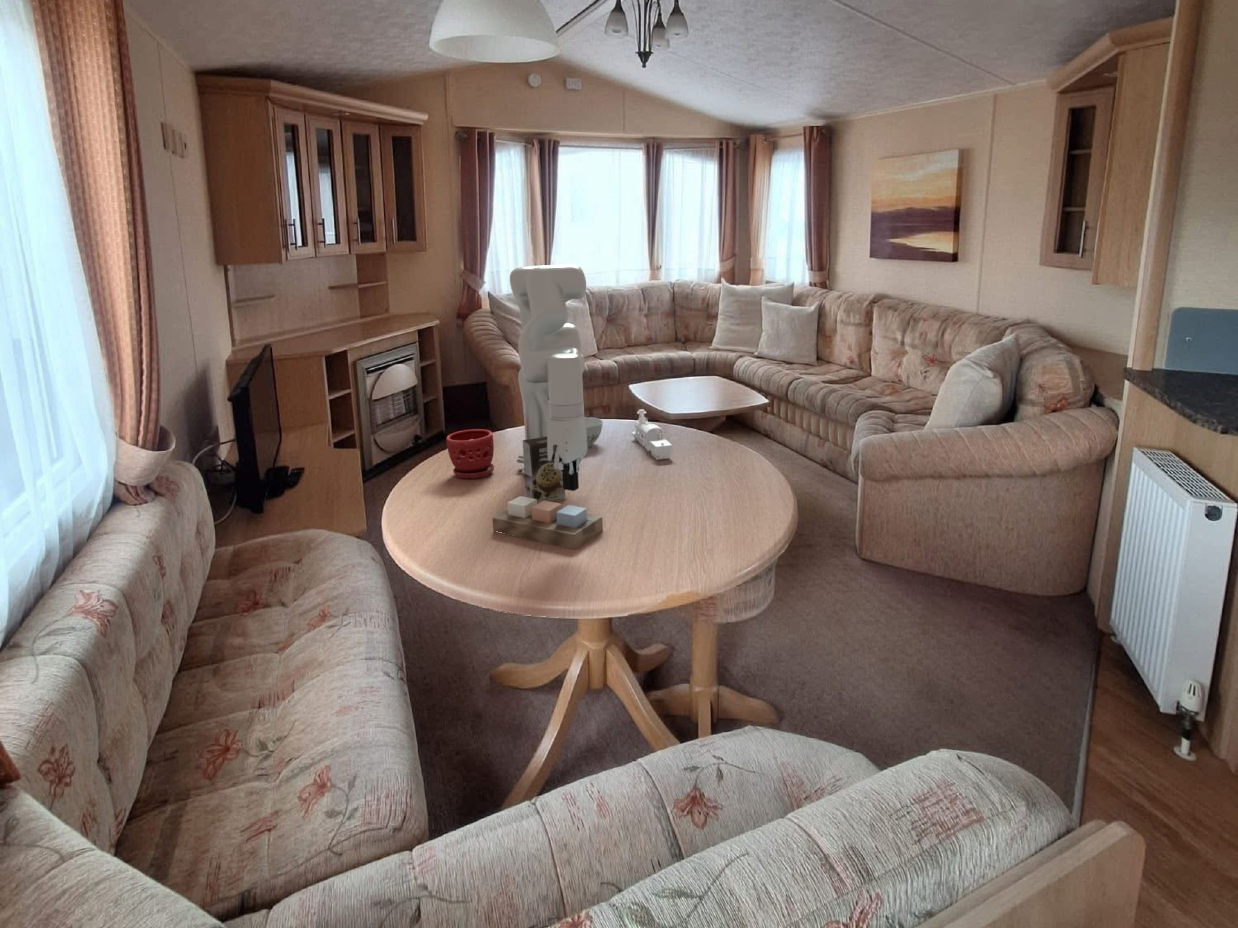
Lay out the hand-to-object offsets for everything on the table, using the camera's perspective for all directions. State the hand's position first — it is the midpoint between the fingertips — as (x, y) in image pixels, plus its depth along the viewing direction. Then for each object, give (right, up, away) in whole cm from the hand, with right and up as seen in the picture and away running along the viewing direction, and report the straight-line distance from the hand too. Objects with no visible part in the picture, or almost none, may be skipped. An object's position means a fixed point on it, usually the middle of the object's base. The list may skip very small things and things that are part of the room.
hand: (570, 489), depth 184 cm
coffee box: (-8, -4, +29) cm, 30 cm away
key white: (-12, -6, +10) cm, 17 cm away
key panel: (-6, -10, +7) cm, 14 cm away
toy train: (+21, +10, +71) cm, 74 cm away
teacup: (0, +12, +76) cm, 77 cm away
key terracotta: (-6, -7, +7) cm, 11 cm away
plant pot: (-31, +3, +50) cm, 59 cm away
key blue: (0, -8, +3) cm, 9 cm away
